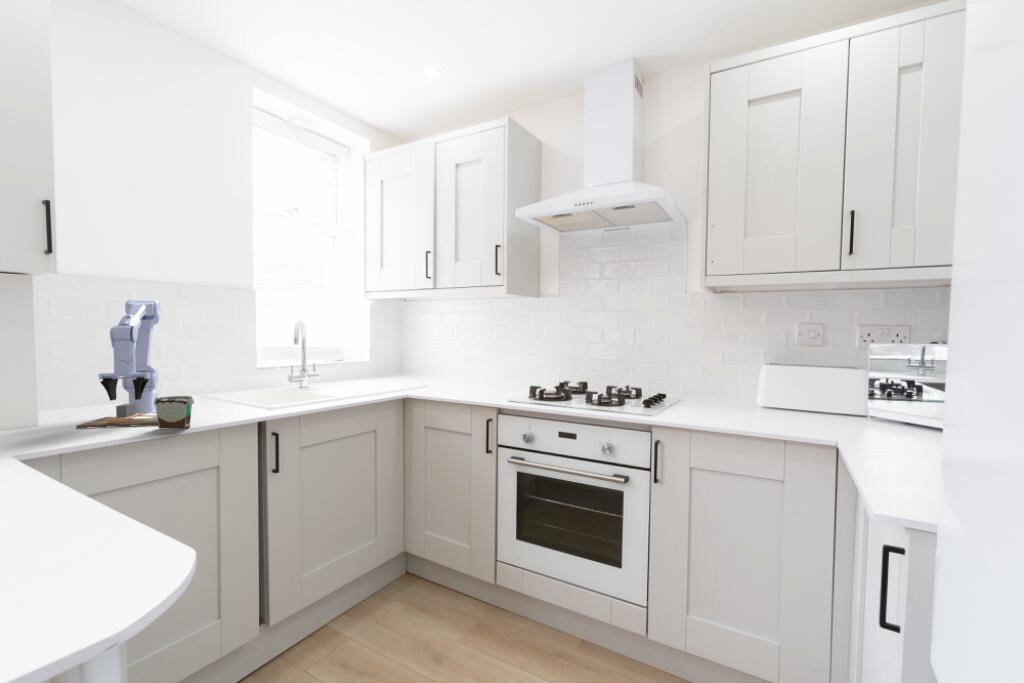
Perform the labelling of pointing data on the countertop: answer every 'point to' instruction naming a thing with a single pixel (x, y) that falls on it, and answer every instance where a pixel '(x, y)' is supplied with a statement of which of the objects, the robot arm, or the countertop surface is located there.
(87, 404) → the countertop surface
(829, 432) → the countertop surface
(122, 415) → the pink grey stepped block
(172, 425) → the food container
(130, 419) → the board
